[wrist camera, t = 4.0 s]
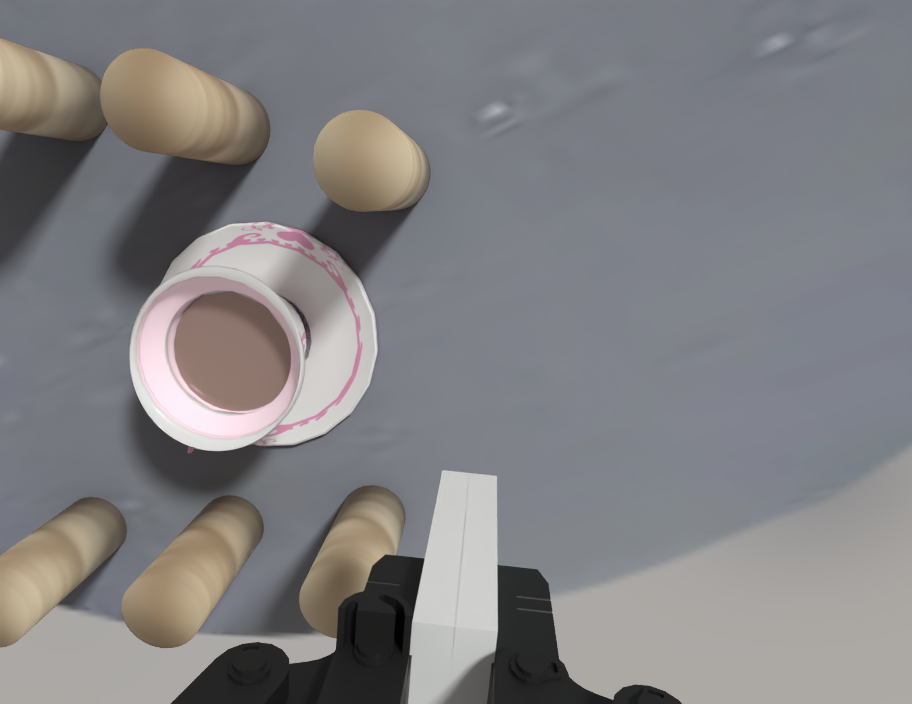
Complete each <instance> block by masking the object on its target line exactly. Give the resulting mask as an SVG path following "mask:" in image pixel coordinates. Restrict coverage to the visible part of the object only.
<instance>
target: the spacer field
mask: <svg viewBox="0 0 912 704" xmlns="http://www.w3.org/2000/svg"><path fill="white" fill-rule="evenodd" d="M107 123H108V125H109V126H110V128H111V130H112V131H113V132H114V133H115V135H116V136H117V137H119V138H120V139H121V140H122V141H123V142H124V143H126V144H127V145H129V146H131V147H133V148H135V149H138V150H141V151H146V152H152V153H158V154H165V155H171V156H177V157H184V158H190V159H197V160H203V161H209V162H216V163H222V164H228V165H244V164H248V163H250V162H252V161H254V160H256V159H257V158H258V157H259V156H260V155H261V154H262V153H263V151H264V150H265V148H266V146H267V144H268V141H269V137H270V122H269V118H268V115H267V113H266V110H265V109H264V107H263V105H262V104H261V103H260V101H259V100H258V99H257V98H256V97H254V96H253V95H252V94H250V93H248V92H246V91H244V90H242V89H240V88H238V87H236V86H233V85H231V84H229V83H227V82H225V81H223V80H220V79H218V78H216V77H214V76H212V75H210V74H208V73H205V72H203V71H201V70H199V69H197V68H195V67H192V66H190V65H188V64H186V63H184V62H182V61H180V60H177V59H175V58H173V57H171V56H169V55H167V54H165V53H162V52H160V51H157V50H154V49H148V48H138V49H133V50H129V51H127V52H125V53H123V54H121V55H120V56H118V57H117V58H116V59H115V60H114V61H113V62H112V63H111V64H110V65H109V67H108V68H107V70H106V72H105V74H104V76H103V79H102V81H101V80H100V79H99V78H98V77H97V76H96V75H95V74H94V73H93V72H92V71H90V70H89V69H87V68H85V67H83V66H80V65H77V64H74V63H71V62H68V61H65V60H62V59H59V58H56V57H53V56H51V55H48V54H45V53H42V52H39V51H36V50H33V49H30V48H27V47H24V46H21V45H18V44H15V43H12V42H9V41H6V40H4V39H1V38H0V130H6V131H12V132H19V133H25V134H32V135H38V136H44V137H51V138H57V139H64V140H70V141H77V142H82V141H87V140H91V139H93V138H95V137H96V136H98V135H99V134H100V133H101V132H102V131H103V130H104V128H105V127H106V125H107ZM313 167H314V172H315V176H316V179H317V181H318V183H319V185H320V187H321V188H322V190H323V191H324V193H325V194H326V195H327V196H328V197H329V198H330V199H331V200H332V201H334V202H335V203H336V204H338V205H340V206H341V207H344V208H346V209H349V210H352V211H359V212H367V211H389V210H402V209H405V208H408V207H410V206H412V205H414V204H415V203H416V202H418V201H419V200H420V199H421V197H422V196H423V195H424V193H425V192H426V190H427V187H428V185H429V181H430V165H429V161H428V159H427V156H426V154H425V152H424V151H423V149H422V148H421V147H420V146H419V145H418V144H417V143H416V142H415V141H413V140H412V139H411V138H410V137H409V136H407V135H406V134H405V133H404V132H403V131H401V130H400V129H399V128H398V127H397V126H395V125H394V124H393V123H392V122H391V121H389V120H388V119H387V118H385V117H384V116H382V115H380V114H377V113H375V112H371V111H366V110H353V111H348V112H345V113H342V114H340V115H338V116H336V117H335V118H333V119H332V120H331V121H330V122H328V123H327V124H326V126H325V127H324V128H323V129H322V131H321V132H320V134H319V136H318V138H317V140H316V143H315V147H314V151H313ZM404 524H405V510H404V507H403V504H402V503H401V501H400V499H399V498H398V497H397V496H396V495H395V494H394V493H392V492H391V491H389V490H388V489H385V488H383V487H380V486H364V487H361V488H358V489H356V490H354V491H353V492H352V493H350V494H349V495H348V497H347V498H346V499H345V501H344V503H343V505H342V507H341V509H340V511H339V513H338V515H337V517H336V519H335V521H334V523H333V525H332V527H331V529H330V531H329V533H328V535H327V537H326V539H325V541H324V543H323V545H322V547H321V549H320V551H319V553H318V555H317V557H316V559H315V561H314V563H313V565H312V567H311V569H310V571H309V573H308V575H307V577H306V579H305V581H304V583H303V585H302V587H301V590H300V595H299V604H300V609H301V612H302V614H303V616H304V618H305V619H306V621H307V622H308V623H309V624H310V625H311V626H312V627H313V628H314V629H315V630H317V631H318V632H320V633H322V634H324V635H326V636H329V637H332V638H337V622H338V607H339V606H340V605H341V603H342V602H343V601H344V599H346V598H348V597H349V596H351V595H353V594H354V593H358V592H362V591H364V589H365V586H366V583H367V581H368V577H369V574H370V571H371V568H372V566H373V565H374V564H375V563H376V562H377V561H378V560H380V559H381V558H382V557H383V556H384V555H385V554H387V555H396V553H397V549H398V545H399V542H400V538H401V535H402V531H403V527H404ZM263 531H264V524H263V520H262V517H261V515H260V513H259V511H258V510H257V509H256V508H255V506H253V505H252V504H251V503H250V502H248V501H247V500H245V499H243V498H240V497H237V496H222V497H219V498H216V499H214V500H213V501H211V502H210V503H209V504H208V505H207V506H206V507H205V508H204V509H203V510H202V511H201V512H200V513H199V514H198V515H197V517H196V518H195V519H194V520H193V521H192V522H191V523H190V524H189V525H188V526H187V527H186V528H185V529H184V530H183V531H182V532H181V533H180V534H179V535H178V536H177V538H176V539H175V540H174V541H173V542H172V543H171V544H170V545H169V546H168V547H167V548H166V549H165V550H164V551H163V552H162V553H161V554H160V555H159V556H158V557H157V559H156V560H155V561H154V562H153V563H152V564H151V565H150V566H149V567H148V568H147V569H146V570H145V571H144V572H143V573H142V574H141V575H140V576H139V577H138V579H137V580H136V581H135V582H134V583H133V584H132V585H131V586H130V587H129V588H128V589H127V591H126V592H125V594H124V596H123V599H122V608H121V609H122V615H123V619H124V621H125V623H126V625H127V627H128V628H129V629H130V631H131V632H132V633H133V634H134V635H135V636H136V637H137V638H139V639H140V640H142V641H143V642H145V643H147V644H149V645H152V646H155V647H160V648H173V647H178V646H181V645H183V644H185V643H187V642H188V641H189V640H191V639H192V638H193V637H194V635H195V634H196V633H197V631H198V630H199V628H200V627H201V626H202V624H203V623H204V621H205V620H206V618H207V617H208V615H209V614H210V613H211V611H212V610H213V608H214V607H215V605H216V604H217V602H218V601H219V600H220V598H221V597H222V595H223V594H224V592H225V591H226V589H227V588H228V587H229V585H230V584H231V582H232V581H233V579H234V578H235V576H236V575H237V574H238V572H239V571H240V569H241V568H242V566H243V565H244V563H245V562H246V561H247V559H248V558H249V556H250V555H251V553H252V552H253V550H254V549H255V548H256V546H257V545H258V543H259V542H260V540H261V538H262V536H263ZM126 532H127V529H126V523H125V520H124V518H123V516H122V514H121V513H120V511H119V510H118V509H117V508H116V507H115V506H114V505H112V504H111V503H109V502H107V501H105V500H103V499H100V498H93V497H89V498H83V499H80V500H78V501H76V502H75V503H74V504H72V505H71V506H69V507H68V508H66V509H65V510H64V511H62V512H61V513H59V514H58V515H57V516H55V517H54V518H52V519H51V520H50V521H48V522H47V523H45V524H44V525H43V526H41V527H40V528H38V529H37V530H36V531H34V532H33V533H31V534H30V535H29V536H27V537H26V538H24V539H23V540H21V541H20V542H19V543H17V544H16V545H14V546H13V547H12V548H10V549H9V550H7V551H6V552H5V553H3V554H2V555H0V647H6V646H8V645H11V644H13V643H15V642H17V641H18V640H19V639H20V638H21V637H22V636H23V635H25V634H26V632H28V631H29V630H30V629H31V628H32V627H33V626H34V625H35V624H37V623H38V622H39V621H40V620H41V619H42V618H43V617H44V616H45V615H46V614H47V613H48V612H50V611H51V610H52V609H53V608H54V607H55V606H56V605H57V604H58V603H59V602H61V601H62V600H63V599H64V598H65V597H66V596H67V595H68V594H69V593H70V592H71V591H73V590H74V589H75V588H76V587H77V586H78V585H79V584H80V583H81V582H82V581H83V580H85V579H86V578H87V577H88V576H89V575H90V574H91V573H92V572H93V571H94V570H95V569H97V568H98V567H99V566H100V565H101V564H102V563H103V562H104V561H105V560H106V559H107V558H109V557H110V556H111V555H112V554H113V553H114V552H115V551H116V550H117V549H118V548H119V547H120V546H121V545H122V544H123V542H124V540H125V538H126Z"/></svg>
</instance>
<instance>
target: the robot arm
mask: <svg viewBox="0 0 912 704" xmlns="http://www.w3.org/2000/svg"><path fill="white" fill-rule="evenodd" d="M171 704H682V703H681V702H680V701H679V700H678V699H676V698H674V697H673V696H671V695H670V694H668V693H667V692H665V691H663V690H660V689H657V688H654V687H651V686H644V685H632V686H628V687H623V688H622V689H621V690H620V691H618V692H617V693H616V694H615V696H614V700H611V699H608V698H606V697H603V696H600V695H598V694H595V693H593V692H591V691H588V690H586V689H584V688H582V687H581V686H580V685H578V684H577V683H575V682H574V681H573V680H572V679H571V678H570V677H569V675H568V672H567V670H566V668H565V665H564V664H563V663H562V662H561V661H560V660H559V656H558V648H557V641H556V634H555V627H554V620H553V614H552V606H551V601H550V592H549V585H548V582H547V581H546V580H545V579H544V577H543V576H542V575H541V573H540V572H539V571H538V570H537V569H528V568H519V567H510V566H501V565H497V476H492V475H482V474H473V473H463V472H454V471H444V470H443V471H442V476H441V481H440V486H439V491H438V496H437V501H436V506H435V511H434V516H433V521H432V526H431V531H430V536H429V541H428V546H427V551H426V555H425V559H423V558H414V557H405V556H396V555H387V554H385V555H384V556H383V557H382V558H381V559H380V560H378V561H377V562H376V563H375V564H374V565H373V566H372V568H371V571H370V574H369V577H368V581H367V583H366V586H365V589H364V591H362V592H358V593H354V594H353V595H351V596H349V597H348V598H346V599H344V601H343V602H342V603H341V605H340V606H339V607H338V622H337V643H336V650H335V652H334V653H332V654H331V655H328V656H326V657H323V658H321V659H319V660H313V661H309V662H301V663H293V664H289V658H288V657H287V655H286V654H285V652H284V651H283V650H282V649H280V648H278V647H276V646H274V645H272V644H266V643H260V642H256V643H247V644H241V645H239V646H236V647H233V648H231V649H228V650H227V651H226V652H224V653H223V654H221V655H220V656H219V657H217V658H216V659H215V660H214V661H213V662H212V663H211V664H210V665H209V666H208V667H207V668H206V669H205V670H204V671H203V672H202V673H201V674H200V675H199V676H198V677H197V678H196V679H195V680H194V681H193V682H192V683H191V684H190V685H189V686H188V687H187V688H186V689H185V690H184V691H183V692H182V693H181V694H180V695H179V696H178V697H177V698H176V699H175V700H174V701H173V702H172V703H171Z"/></svg>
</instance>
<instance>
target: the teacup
mask: <svg viewBox="0 0 912 704" xmlns="http://www.w3.org/2000/svg"><path fill="white" fill-rule="evenodd" d="M281 296H283V297H284V298H286V299H287V300H289V301H291V302H292V303H294V304H295V305H296V306H297V308H298V309H299V310H300V311H301V312H302V313H303V315H304V317H305V319H306V321H307V323H308V326H309V328H310V336H311V345H310V350H309V355H308V357H307V359H306V360H305V353H306V332H305V329H304V325H303V323H302V320H301V318H300V316H299V315H298V313H297V311H296V310H295V309H294V308H293V306H292V305H291V304H290V303H289V302H288V301H286V300H285V299H284V298H283V297H281ZM377 353H378V341H377V329H376V318H375V313H374V311H373V308H372V306H371V303H370V301H369V299H368V296H367V294H366V292H365V289H364V287H363V284H362V282H361V280H360V279H359V278H358V277H357V275H356V274H355V273H354V272H353V271H352V269H351V268H350V267H349V266H348V265H347V264H346V262H345V261H344V260H343V259H342V258H341V256H340V255H339V254H338V253H337V252H336V251H335V250H333V249H331V248H330V247H328V246H327V245H325V244H324V243H322V242H321V241H319V240H317V239H316V238H314V237H313V236H311V235H310V234H308V233H307V232H305V231H301V230H298V229H294V228H290V227H286V226H283V225H279V224H275V223H271V222H257V223H241V224H230V225H227V226H225V227H222V228H220V229H218V230H215V231H213V232H211V233H208V234H206V235H203V236H201V237H199V238H197V239H196V240H195V241H194V242H193V243H192V244H191V245H189V246H188V247H187V248H186V249H185V250H184V251H183V252H182V253H181V254H180V255H179V256H178V257H176V258H175V259H174V260H173V261H172V263H171V265H170V267H169V269H168V270H167V272H166V274H165V276H164V278H163V280H162V282H161V284H160V286H159V287H157V288H156V289H155V290H154V291H153V292H152V294H151V295H150V296H149V297H148V298H147V300H146V301H145V303H144V304H143V306H142V307H141V309H140V311H139V313H138V315H137V317H136V320H135V322H134V325H133V329H132V332H131V337H130V344H129V365H130V372H131V377H132V381H133V385H134V388H135V391H136V393H137V396H138V398H139V400H140V402H141V404H142V406H143V407H144V409H145V411H146V412H147V414H148V415H149V416H150V418H151V419H152V420H153V421H154V422H155V423H156V424H157V425H158V426H159V427H160V428H161V429H162V430H163V431H164V432H165V433H167V434H168V435H169V436H171V437H172V438H174V439H175V440H177V441H179V442H181V443H183V444H185V445H188V451H187V453H189V454H190V453H192V452H193V451H194V449H195V448H197V449H201V450H208V451H227V450H233V449H238V448H242V447H245V446H248V445H251V444H254V445H258V446H278V445H296V444H298V443H301V442H304V441H307V440H309V439H312V438H315V437H318V436H320V435H323V434H326V433H327V432H328V431H330V430H331V429H332V428H333V427H335V426H336V425H337V424H338V423H340V422H341V421H342V420H343V419H345V418H346V417H347V416H348V415H350V414H351V413H352V411H353V410H354V408H355V407H356V405H357V404H358V402H359V400H360V399H361V397H362V396H363V394H364V393H365V391H366V389H367V388H368V386H369V385H370V383H371V379H372V374H373V370H374V366H375V362H376V358H377Z"/></svg>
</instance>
